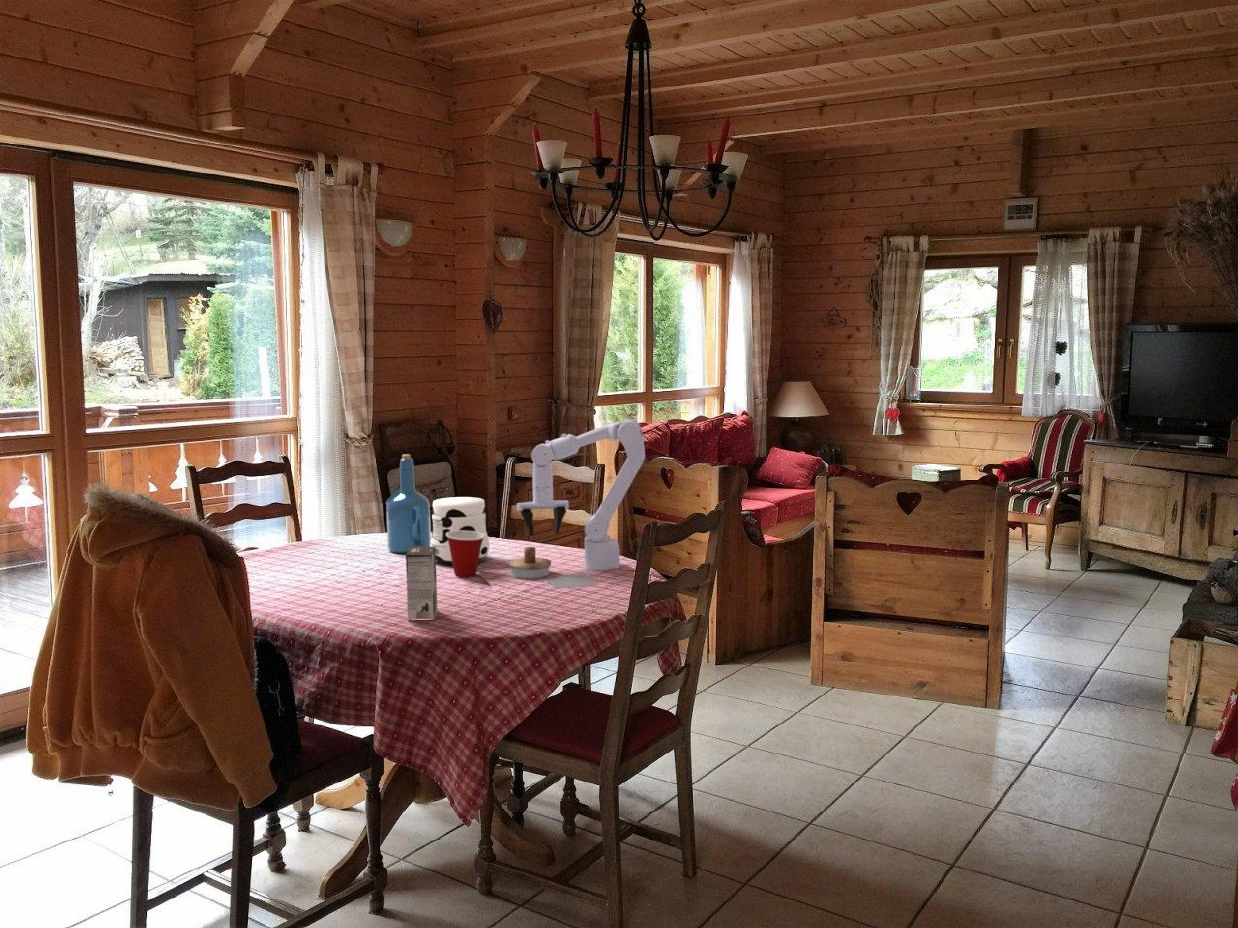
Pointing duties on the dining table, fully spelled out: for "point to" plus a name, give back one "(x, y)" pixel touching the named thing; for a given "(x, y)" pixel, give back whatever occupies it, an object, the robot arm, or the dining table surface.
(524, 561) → the lid
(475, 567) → the plastic cup
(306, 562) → the dining table surface
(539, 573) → the bowl
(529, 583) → the dining table surface
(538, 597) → the dining table surface
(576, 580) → the mat
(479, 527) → the white black patterned jar
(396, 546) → the wine bottle
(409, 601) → the coffee box
